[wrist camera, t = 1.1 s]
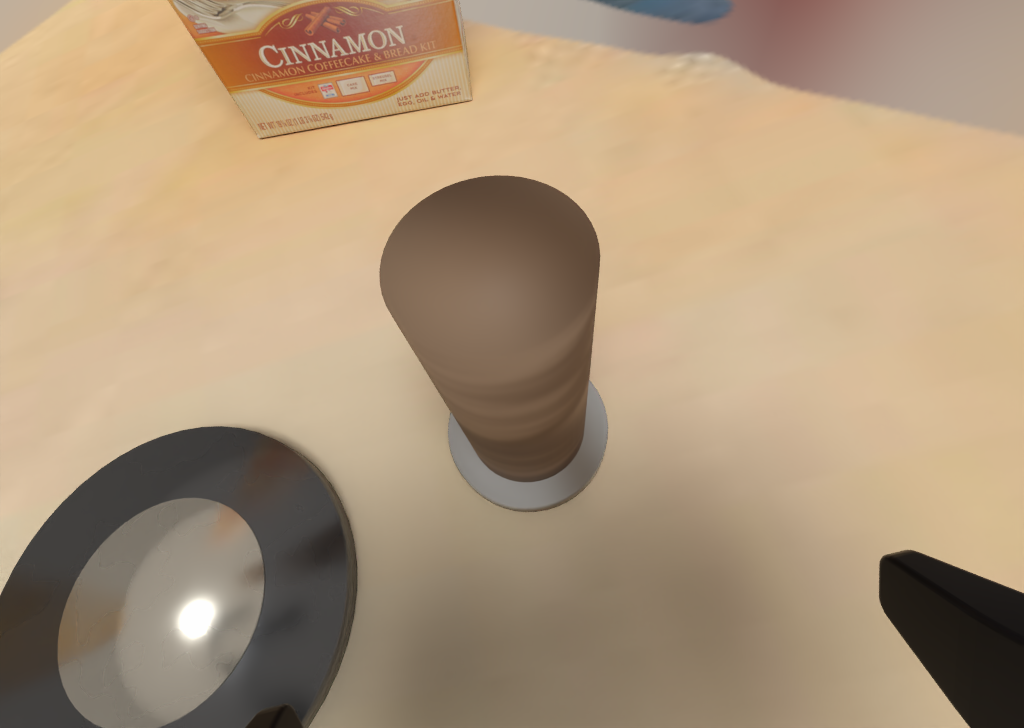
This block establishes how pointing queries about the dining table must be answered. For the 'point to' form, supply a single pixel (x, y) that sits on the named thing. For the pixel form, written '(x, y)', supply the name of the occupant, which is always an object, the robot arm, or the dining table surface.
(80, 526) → the base plate
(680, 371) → the dining table surface
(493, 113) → the dining table surface
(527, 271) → the wooden peg on stand
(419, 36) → the coffeecake box
